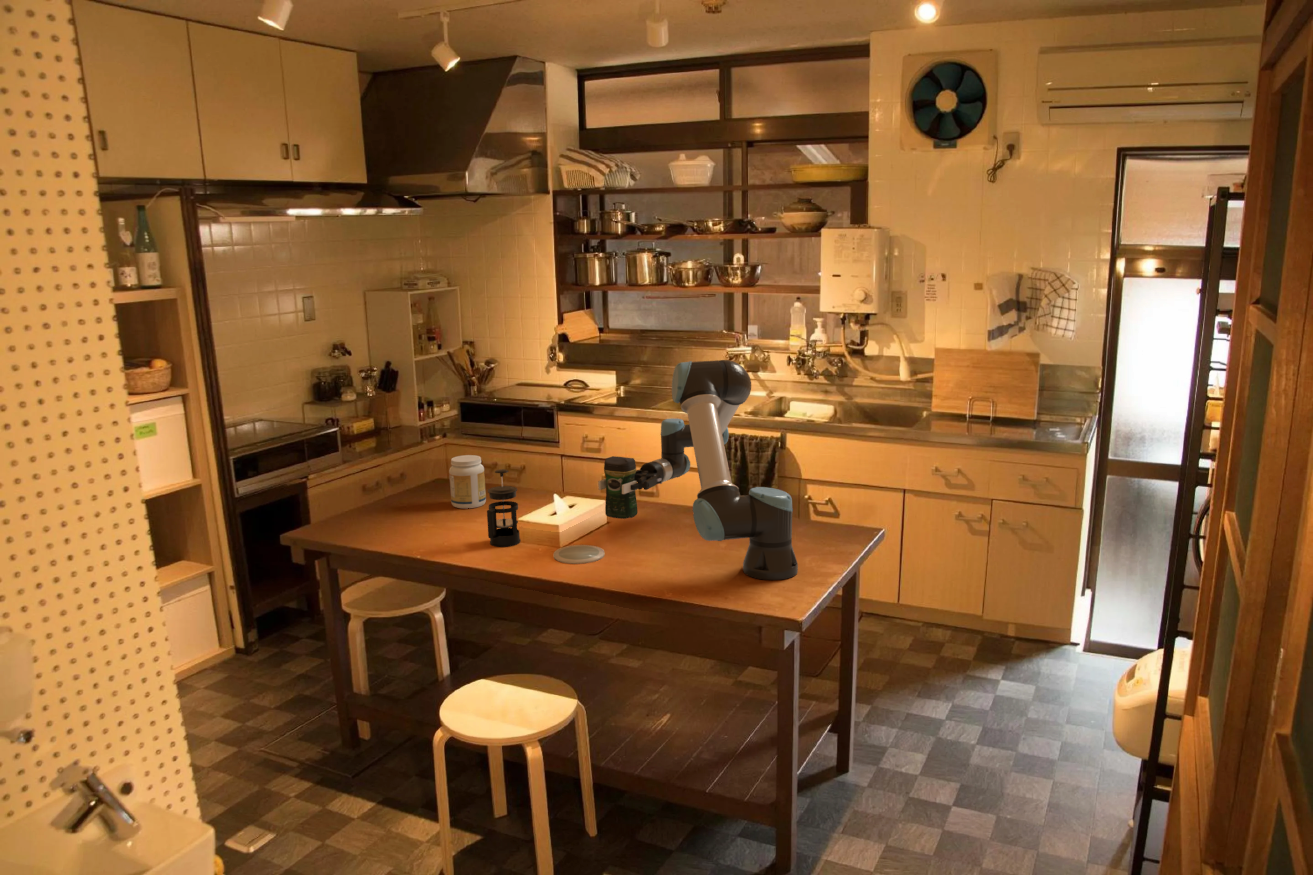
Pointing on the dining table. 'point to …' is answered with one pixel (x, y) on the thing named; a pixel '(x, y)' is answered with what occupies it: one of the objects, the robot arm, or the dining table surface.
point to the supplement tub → (467, 482)
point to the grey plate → (579, 554)
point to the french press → (504, 534)
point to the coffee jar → (619, 487)
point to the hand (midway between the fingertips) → (611, 487)
